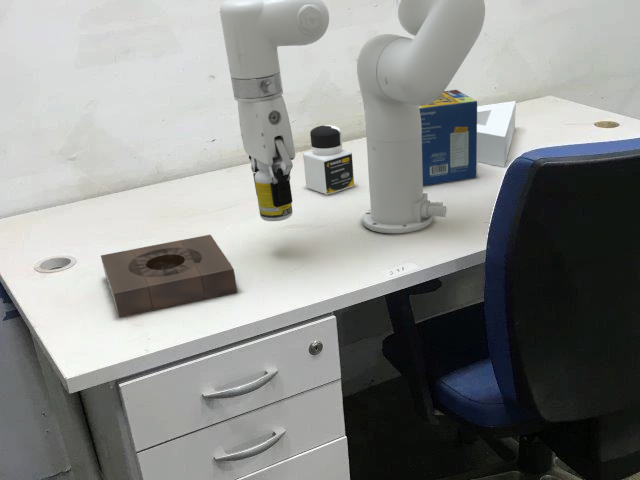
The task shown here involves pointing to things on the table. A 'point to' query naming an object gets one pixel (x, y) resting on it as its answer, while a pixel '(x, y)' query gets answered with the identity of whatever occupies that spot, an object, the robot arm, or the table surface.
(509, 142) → the triangle block
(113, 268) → the holder block
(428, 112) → the protein box
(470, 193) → the table surface
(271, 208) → the supplement bottle
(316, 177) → the medicine bottle
